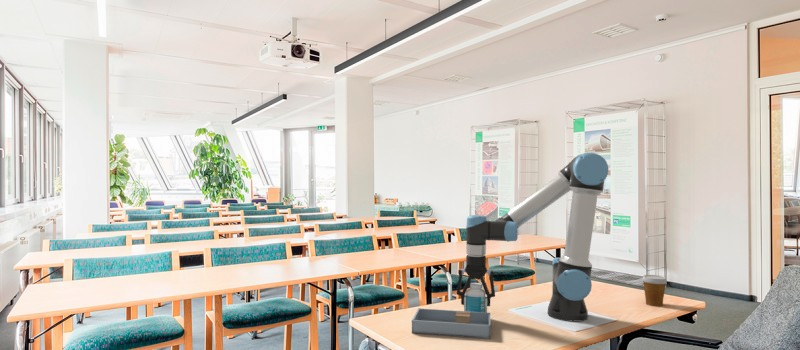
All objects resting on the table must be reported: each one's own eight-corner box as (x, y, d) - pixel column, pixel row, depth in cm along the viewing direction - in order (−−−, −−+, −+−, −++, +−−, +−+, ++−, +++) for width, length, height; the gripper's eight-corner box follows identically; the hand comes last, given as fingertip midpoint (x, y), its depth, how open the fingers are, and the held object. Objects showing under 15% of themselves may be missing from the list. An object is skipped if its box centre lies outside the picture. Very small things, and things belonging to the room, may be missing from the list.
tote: (490, 324, 174) (490, 312, 174) (490, 338, 159) (490, 325, 159) (418, 319, 179) (418, 308, 179) (411, 333, 164) (411, 320, 164)
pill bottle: (485, 322, 176) (485, 286, 176) (465, 320, 178) (465, 285, 178) (485, 316, 184) (485, 282, 184) (466, 315, 185) (466, 281, 185)
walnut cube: (469, 330, 165) (469, 316, 165) (455, 329, 166) (455, 315, 166) (470, 325, 170) (470, 312, 170) (456, 324, 171) (456, 311, 171)
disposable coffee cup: (643, 300, 209) (643, 273, 209) (668, 303, 204) (668, 276, 204) (640, 305, 202) (640, 277, 202) (665, 308, 196) (665, 280, 196)
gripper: (502, 254, 183) (502, 312, 183) (450, 252, 186) (450, 309, 186) (502, 257, 175) (502, 318, 175) (449, 255, 179) (448, 314, 179)
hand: (475, 313), depth 181 cm, fingers closed on pill bottle, 7 cm apart
